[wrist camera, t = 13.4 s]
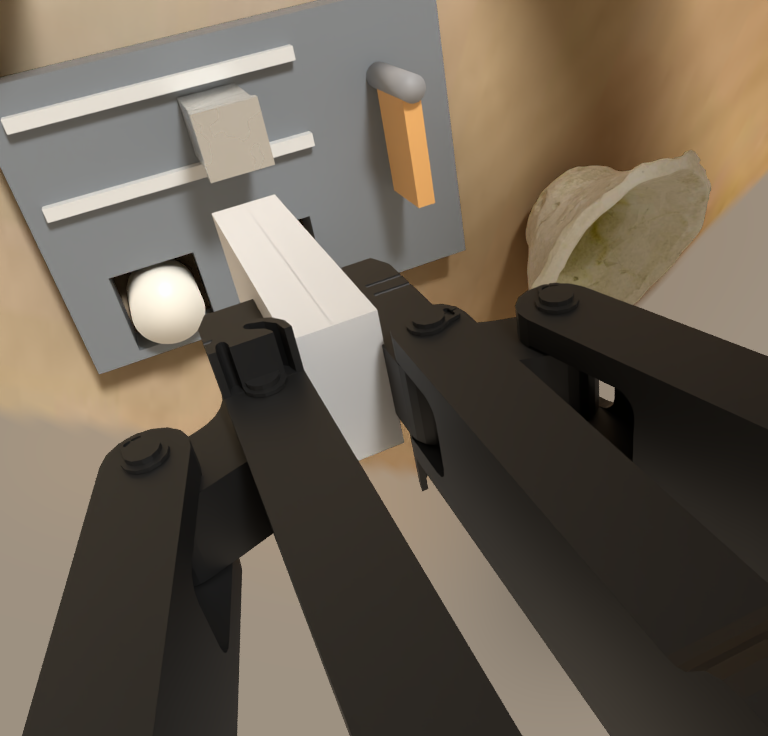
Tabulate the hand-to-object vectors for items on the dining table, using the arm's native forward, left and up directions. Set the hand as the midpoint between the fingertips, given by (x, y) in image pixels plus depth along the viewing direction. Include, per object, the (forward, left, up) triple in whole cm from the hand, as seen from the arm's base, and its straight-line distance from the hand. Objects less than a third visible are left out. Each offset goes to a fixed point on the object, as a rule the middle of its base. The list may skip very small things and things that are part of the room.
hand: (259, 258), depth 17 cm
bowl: (+16, +25, -27) cm, 40 cm away
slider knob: (+2, +3, -24) cm, 24 cm away
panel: (+6, +4, -26) cm, 27 cm away
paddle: (+5, +12, -24) cm, 27 cm away
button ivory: (+11, -3, -26) cm, 28 cm away
